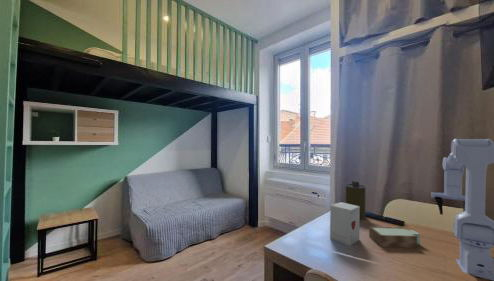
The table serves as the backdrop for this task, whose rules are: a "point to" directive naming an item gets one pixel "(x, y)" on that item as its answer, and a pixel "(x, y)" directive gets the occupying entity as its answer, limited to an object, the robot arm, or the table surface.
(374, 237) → the tub
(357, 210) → the supplement box
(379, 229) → the lid
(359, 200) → the canister
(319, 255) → the table surface
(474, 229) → the robot arm
